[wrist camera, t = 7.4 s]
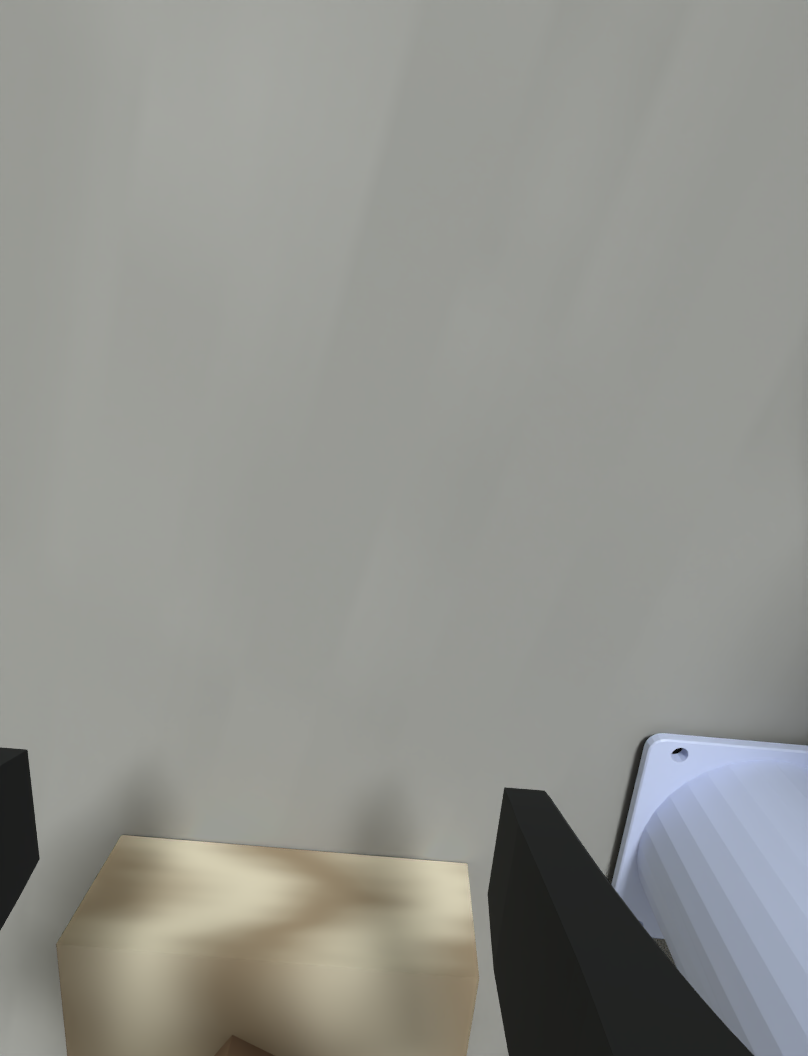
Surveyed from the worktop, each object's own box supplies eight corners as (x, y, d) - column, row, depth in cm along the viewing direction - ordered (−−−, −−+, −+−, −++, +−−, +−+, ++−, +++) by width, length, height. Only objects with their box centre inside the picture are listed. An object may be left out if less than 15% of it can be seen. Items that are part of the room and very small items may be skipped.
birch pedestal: (466, 863, 21) (478, 978, 17) (432, 1100, 25) (435, 1239, 21) (121, 834, 21) (55, 944, 17) (134, 1076, 24) (83, 1213, 21)
